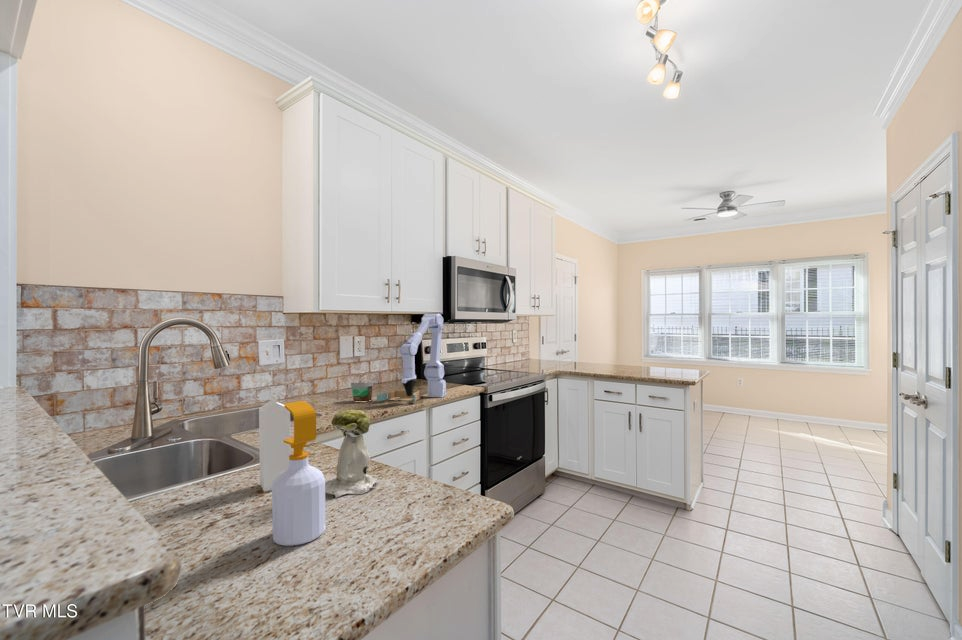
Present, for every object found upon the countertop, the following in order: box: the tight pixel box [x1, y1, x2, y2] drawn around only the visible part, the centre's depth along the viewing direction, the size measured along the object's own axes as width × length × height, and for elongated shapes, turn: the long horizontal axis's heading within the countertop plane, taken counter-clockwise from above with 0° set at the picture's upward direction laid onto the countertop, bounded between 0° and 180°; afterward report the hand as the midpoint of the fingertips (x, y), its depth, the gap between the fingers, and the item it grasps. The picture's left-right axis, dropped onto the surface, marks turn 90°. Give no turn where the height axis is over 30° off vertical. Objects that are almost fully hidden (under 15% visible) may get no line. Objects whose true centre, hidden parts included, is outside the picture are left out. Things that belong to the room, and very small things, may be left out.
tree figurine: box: [325, 409, 379, 499], centre depth 99 cm, size 12×13×18 cm
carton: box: [387, 389, 421, 402], centre depth 212 cm, size 15×8×4 cm, turn 78°
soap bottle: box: [271, 400, 327, 547], centre depth 77 cm, size 9×9×25 cm
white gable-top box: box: [258, 394, 292, 493], centre depth 101 cm, size 6×6×22 cm
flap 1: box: [376, 392, 388, 402], centre depth 206 cm, size 6×1×3 cm, turn 144°
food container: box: [350, 380, 374, 401], centre depth 207 cm, size 12×6×10 cm, turn 73°
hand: (409, 395), depth 201 cm, fingers closed
